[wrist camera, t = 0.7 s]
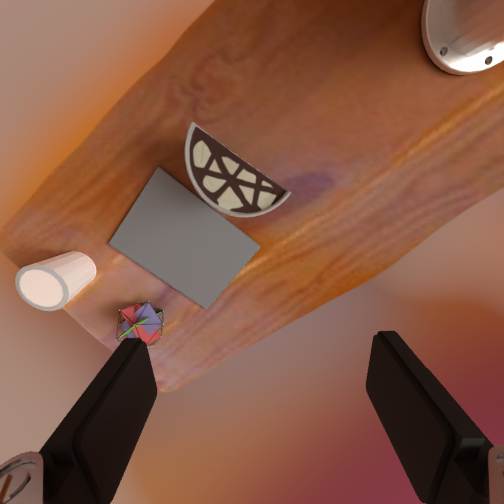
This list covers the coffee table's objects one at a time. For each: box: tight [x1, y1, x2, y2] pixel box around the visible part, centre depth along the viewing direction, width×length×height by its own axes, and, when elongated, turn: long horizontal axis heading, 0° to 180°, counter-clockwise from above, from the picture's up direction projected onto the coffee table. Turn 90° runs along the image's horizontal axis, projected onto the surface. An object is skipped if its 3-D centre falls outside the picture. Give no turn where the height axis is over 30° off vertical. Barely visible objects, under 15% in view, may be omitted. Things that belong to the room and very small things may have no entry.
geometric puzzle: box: [115, 301, 164, 349], centre depth 37 cm, size 7×7×8 cm
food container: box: [184, 122, 291, 217], centre depth 29 cm, size 12×6×10 cm, turn 56°
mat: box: [109, 167, 261, 310], centre depth 36 cm, size 14×18×1 cm
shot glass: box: [15, 251, 96, 311], centre depth 34 cm, size 7×7×7 cm
